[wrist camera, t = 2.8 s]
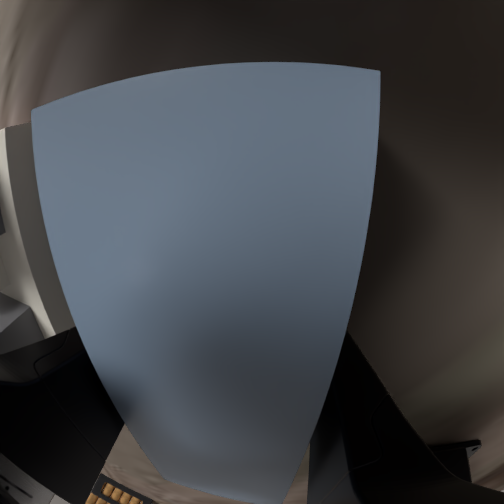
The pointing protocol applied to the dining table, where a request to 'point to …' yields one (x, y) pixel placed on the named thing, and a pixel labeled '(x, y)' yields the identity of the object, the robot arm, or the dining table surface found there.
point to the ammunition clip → (114, 493)
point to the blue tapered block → (213, 254)
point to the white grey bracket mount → (25, 251)
